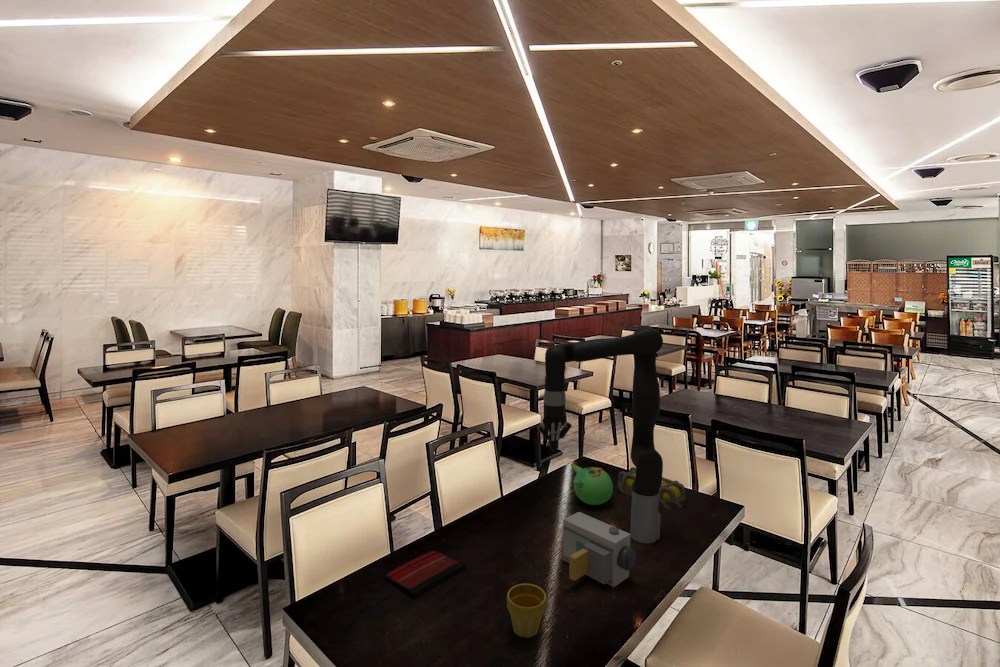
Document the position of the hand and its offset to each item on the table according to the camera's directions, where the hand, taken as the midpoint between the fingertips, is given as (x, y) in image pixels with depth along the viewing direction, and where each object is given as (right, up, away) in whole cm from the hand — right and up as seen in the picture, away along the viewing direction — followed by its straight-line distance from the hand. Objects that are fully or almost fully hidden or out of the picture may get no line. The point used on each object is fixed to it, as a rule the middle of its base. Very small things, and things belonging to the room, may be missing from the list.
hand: (553, 450), depth 183 cm
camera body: (+12, -34, -19) cm, 41 cm away
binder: (-43, -34, -21) cm, 59 cm away
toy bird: (+18, -28, +29) cm, 44 cm away
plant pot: (-12, -37, -46) cm, 61 cm away
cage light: (+45, -28, +36) cm, 63 cm away
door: (+8, -33, -28) cm, 44 cm away
